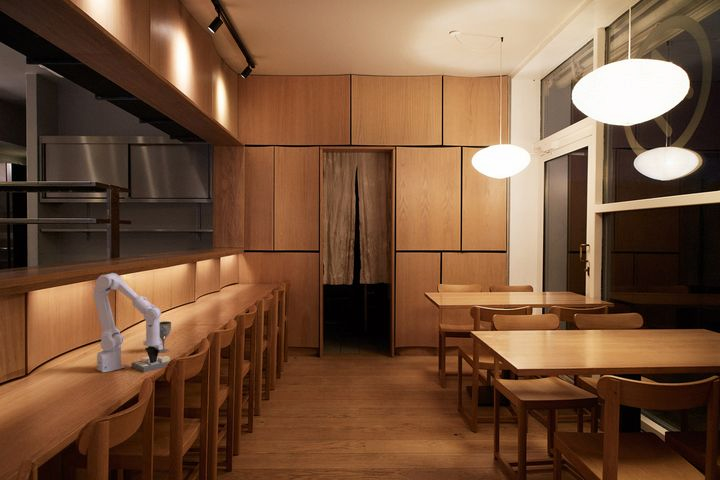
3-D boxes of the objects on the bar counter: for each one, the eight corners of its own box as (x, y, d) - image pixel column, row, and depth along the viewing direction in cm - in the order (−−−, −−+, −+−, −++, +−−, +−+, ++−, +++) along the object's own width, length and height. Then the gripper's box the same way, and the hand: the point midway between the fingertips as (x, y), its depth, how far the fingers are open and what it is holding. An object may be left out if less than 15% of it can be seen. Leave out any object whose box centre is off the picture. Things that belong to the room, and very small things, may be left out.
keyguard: (144, 372, 204) (144, 367, 204) (131, 367, 212) (131, 362, 212) (174, 364, 216) (174, 359, 216) (161, 359, 223) (161, 355, 223)
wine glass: (151, 351, 238) (151, 323, 238) (164, 348, 245) (164, 320, 245) (162, 353, 234) (161, 325, 234) (174, 350, 241) (174, 322, 241)
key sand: (161, 363, 212) (161, 359, 212) (157, 361, 215) (157, 357, 215) (170, 361, 216) (169, 357, 216) (165, 359, 218) (165, 355, 218)
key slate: (151, 368, 208) (151, 364, 208) (146, 366, 211) (146, 362, 211) (159, 366, 212) (159, 362, 211) (155, 364, 214) (155, 360, 214)
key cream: (145, 363, 212) (145, 359, 212) (141, 362, 214) (141, 358, 214) (153, 361, 215) (153, 357, 215) (149, 360, 217) (149, 356, 217)
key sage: (156, 363, 216) (156, 359, 216) (152, 362, 218) (152, 358, 218) (164, 361, 219) (164, 357, 219) (160, 360, 221) (160, 356, 221)
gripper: (169, 334, 209) (169, 363, 210) (153, 329, 218) (153, 357, 219) (154, 337, 204) (154, 366, 204) (138, 332, 213) (139, 361, 213)
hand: (153, 362), depth 211 cm, fingers closed, pressing on key slate
